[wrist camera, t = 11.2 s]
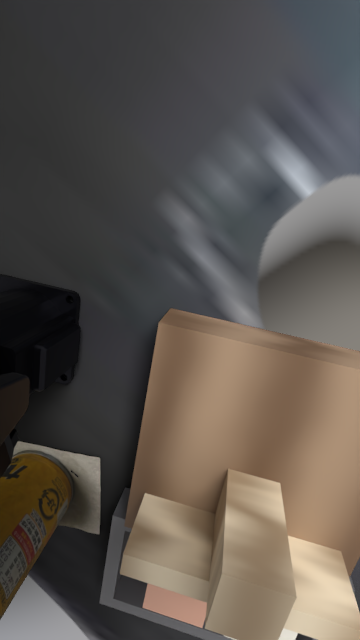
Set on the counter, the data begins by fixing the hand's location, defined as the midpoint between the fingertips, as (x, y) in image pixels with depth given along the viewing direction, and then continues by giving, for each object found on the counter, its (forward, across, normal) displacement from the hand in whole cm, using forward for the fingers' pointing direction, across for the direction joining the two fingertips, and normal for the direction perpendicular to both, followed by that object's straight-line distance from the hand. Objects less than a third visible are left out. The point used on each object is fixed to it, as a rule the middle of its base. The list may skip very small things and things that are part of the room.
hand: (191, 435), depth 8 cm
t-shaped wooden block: (+9, -4, +11) cm, 15 cm away
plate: (+12, -4, +8) cm, 15 cm away
